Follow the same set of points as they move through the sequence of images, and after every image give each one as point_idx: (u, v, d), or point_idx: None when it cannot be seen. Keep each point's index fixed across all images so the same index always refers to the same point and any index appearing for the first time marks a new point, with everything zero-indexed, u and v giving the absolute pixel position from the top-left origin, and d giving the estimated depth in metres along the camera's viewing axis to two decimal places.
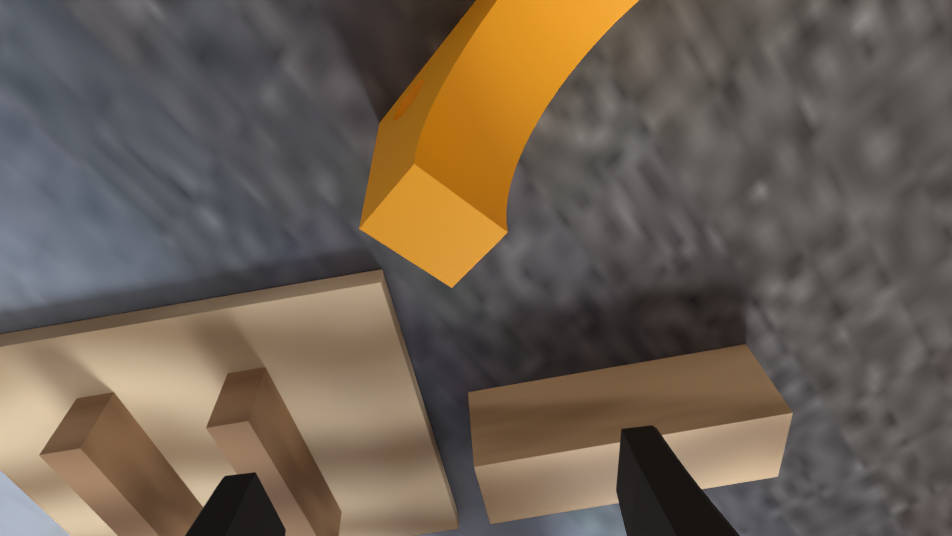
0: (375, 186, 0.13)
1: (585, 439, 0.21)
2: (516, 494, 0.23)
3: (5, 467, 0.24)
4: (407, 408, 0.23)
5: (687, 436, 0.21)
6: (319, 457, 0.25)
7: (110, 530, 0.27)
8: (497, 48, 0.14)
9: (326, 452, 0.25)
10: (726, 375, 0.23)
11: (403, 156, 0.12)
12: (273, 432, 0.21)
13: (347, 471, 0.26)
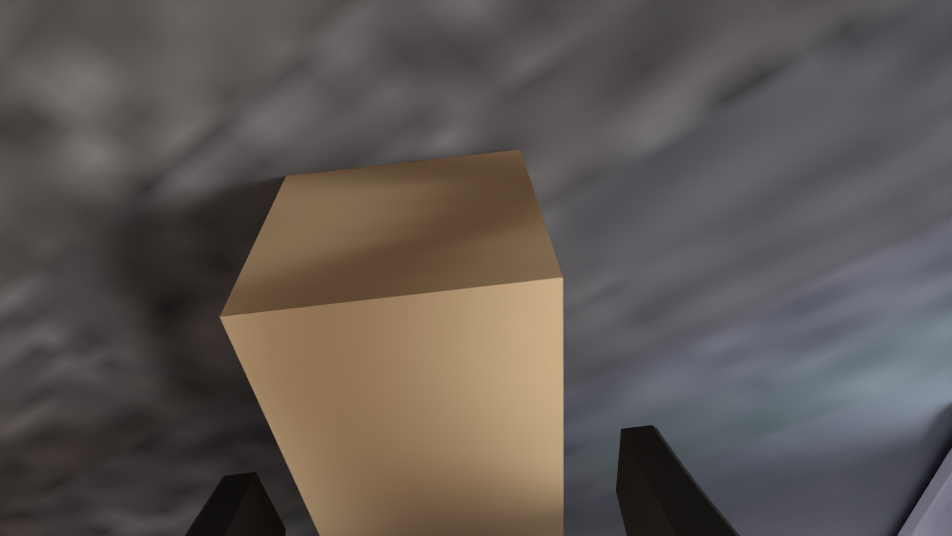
0: None
1: None
2: None
3: None
4: None
5: (331, 506, 0.09)
6: None
7: None
8: None
9: None
10: None
11: None
12: None
13: None
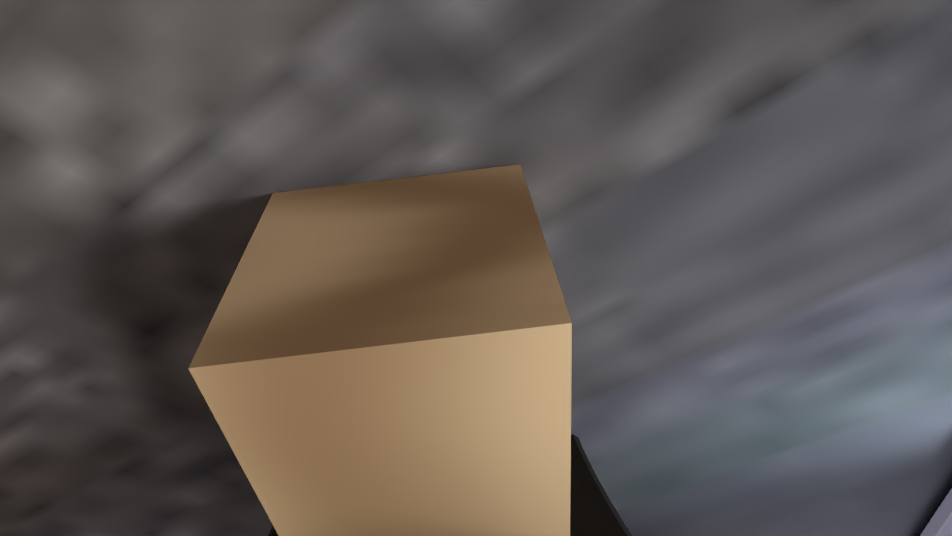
0: None
1: None
2: None
3: None
4: None
5: None
6: None
7: None
8: None
9: None
10: None
11: None
12: None
13: None
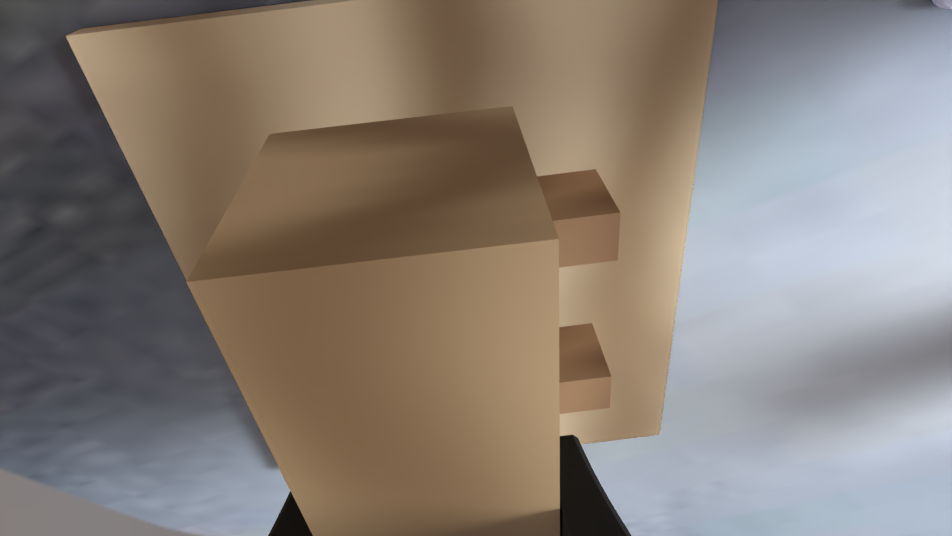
0: None
1: None
2: None
3: None
4: (340, 26, 0.14)
5: (314, 488, 0.08)
6: None
7: None
8: None
9: None
10: None
11: None
12: None
13: None
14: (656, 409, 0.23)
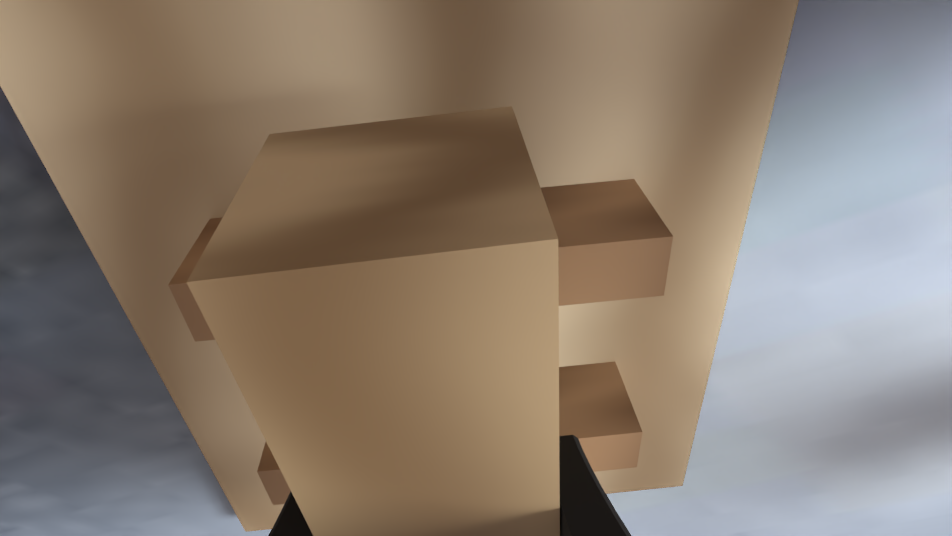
0: None
1: None
2: None
3: None
4: None
5: (314, 488, 0.08)
6: None
7: None
8: None
9: None
10: None
11: None
12: None
13: None
14: (682, 459, 0.20)
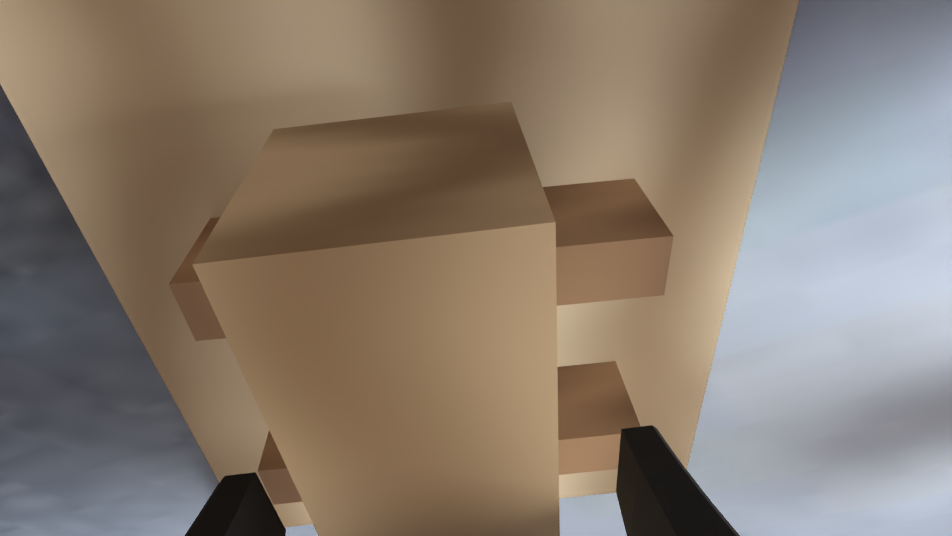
0: None
1: None
2: None
3: None
4: None
5: (315, 475, 0.08)
6: None
7: None
8: None
9: None
10: None
11: None
12: None
13: None
14: (682, 458, 0.20)
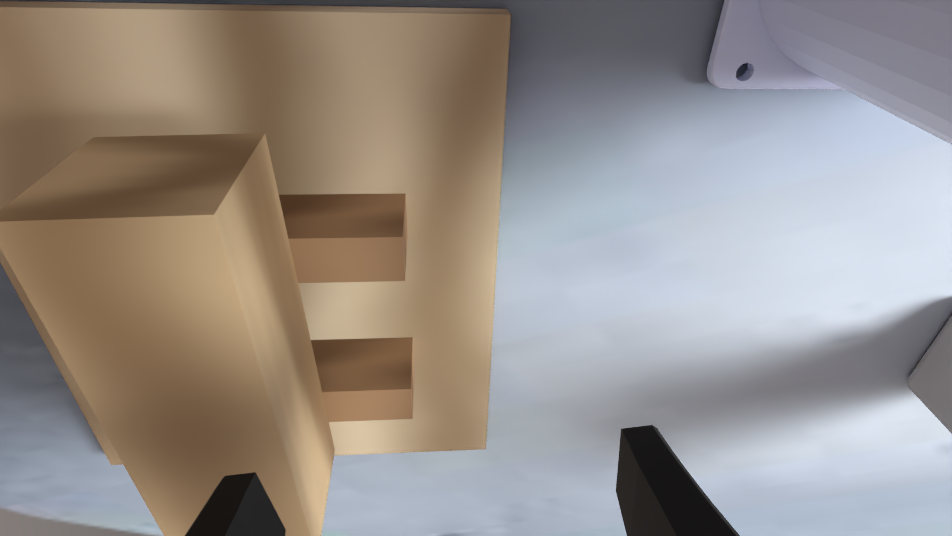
0: None
1: None
2: None
3: None
4: (145, 31, 0.15)
5: (90, 376, 0.12)
6: None
7: (383, 424, 0.24)
8: None
9: None
10: None
11: None
12: None
13: (303, 159, 0.17)
14: (481, 425, 0.24)
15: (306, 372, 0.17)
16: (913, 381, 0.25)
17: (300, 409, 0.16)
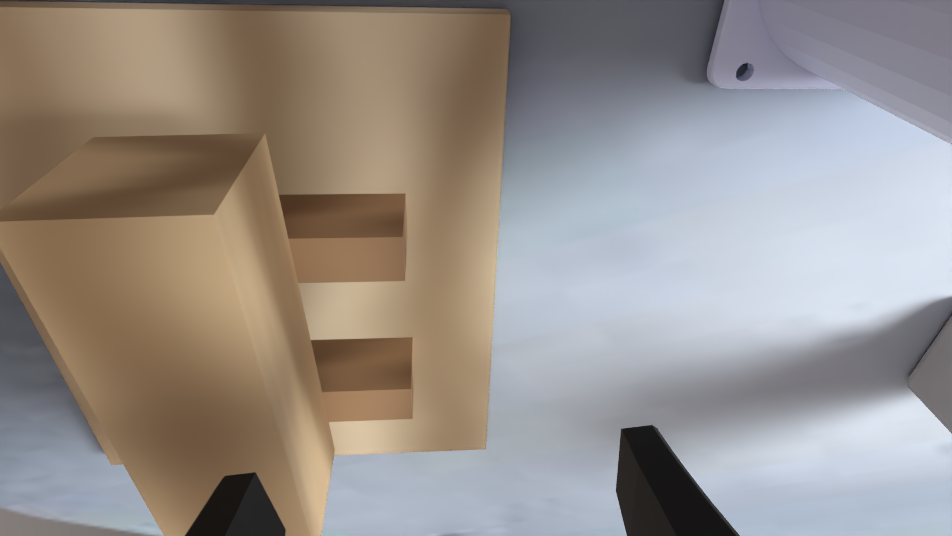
0: None
1: None
2: None
3: None
4: (145, 31, 0.15)
5: (90, 376, 0.12)
6: None
7: (383, 424, 0.24)
8: None
9: None
10: None
11: None
12: None
13: (303, 159, 0.17)
14: (481, 425, 0.24)
15: (306, 372, 0.17)
16: (913, 381, 0.25)
17: (300, 409, 0.16)
